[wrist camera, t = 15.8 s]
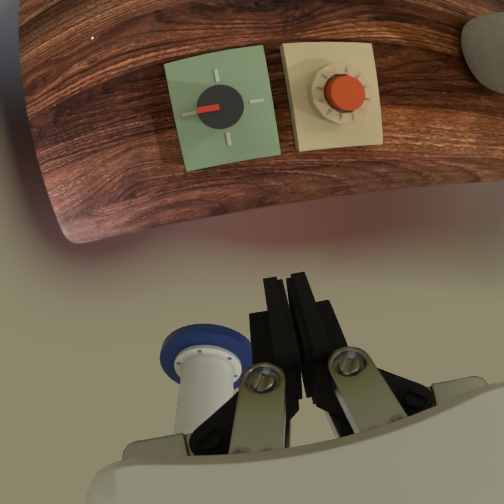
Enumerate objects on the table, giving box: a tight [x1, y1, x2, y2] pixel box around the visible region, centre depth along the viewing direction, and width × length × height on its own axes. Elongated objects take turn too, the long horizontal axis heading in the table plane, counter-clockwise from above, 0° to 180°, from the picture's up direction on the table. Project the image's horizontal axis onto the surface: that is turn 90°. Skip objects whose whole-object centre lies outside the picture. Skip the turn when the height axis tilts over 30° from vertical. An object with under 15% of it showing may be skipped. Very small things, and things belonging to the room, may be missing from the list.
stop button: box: [326, 75, 365, 111], centre depth 24 cm, size 4×4×2 cm
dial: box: [196, 84, 244, 129], centre depth 24 cm, size 4×4×5 cm
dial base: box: [164, 45, 281, 172], centre depth 27 cm, size 12×10×3 cm
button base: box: [280, 42, 383, 152], centre depth 26 cm, size 12×10×4 cm
